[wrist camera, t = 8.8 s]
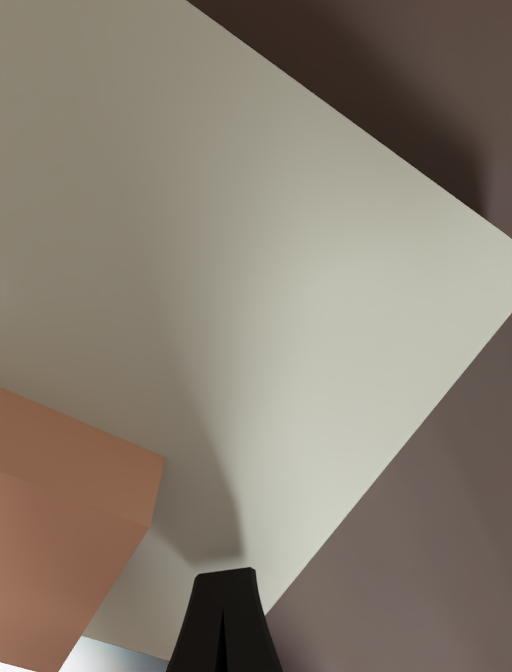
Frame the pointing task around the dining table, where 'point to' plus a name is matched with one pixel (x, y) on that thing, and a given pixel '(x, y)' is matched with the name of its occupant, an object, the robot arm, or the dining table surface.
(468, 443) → the dining table surface
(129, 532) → the tile terracotta
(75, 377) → the board
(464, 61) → the dining table surface
